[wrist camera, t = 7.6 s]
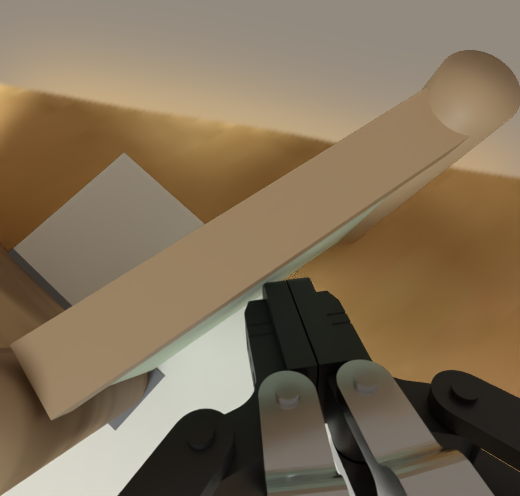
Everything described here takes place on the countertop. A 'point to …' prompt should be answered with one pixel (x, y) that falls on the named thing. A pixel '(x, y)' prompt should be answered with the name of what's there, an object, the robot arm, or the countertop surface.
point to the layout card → (96, 277)
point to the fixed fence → (24, 396)
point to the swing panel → (266, 236)
